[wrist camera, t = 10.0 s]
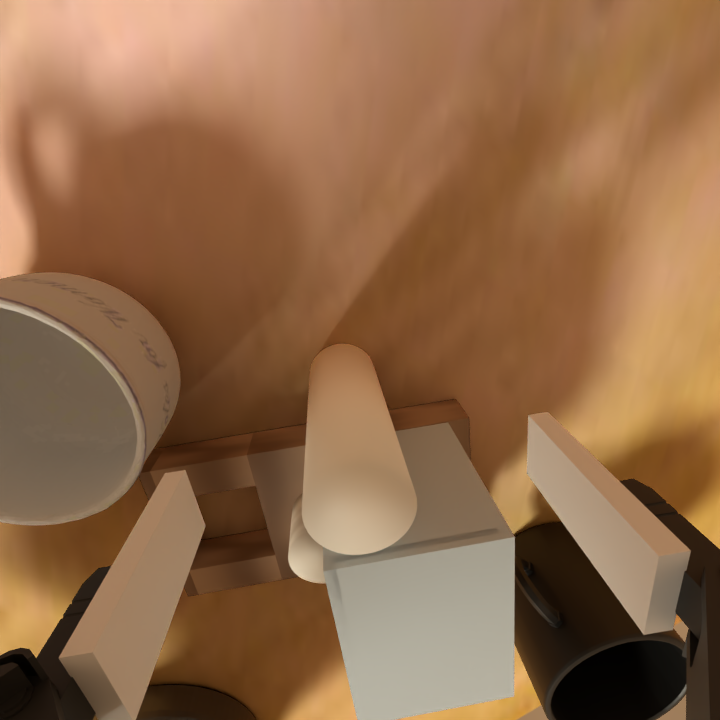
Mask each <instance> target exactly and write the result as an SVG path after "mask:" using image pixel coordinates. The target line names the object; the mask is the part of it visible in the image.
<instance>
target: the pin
mask: <svg viewBox="0 0 720 720" xmlns="http://www.w3.org/2000/svg"><path fill="white" fill-rule="evenodd" d="M416 512H417V497H416V493H415V490H414V487H413V484H412V481H411V478H410V475H409V472H408V469H407V466H406V463H405V460H404V457H403V454H402V451H401V448H400V444H399V441H398V438H397V435H396V432H395V429H394V426H393V423H392V420H391V417H390V414H389V411H388V408H387V405H386V402H385V399H384V396H383V393H382V390H381V387H380V384H379V381H378V378H377V374H376V371H375V368H374V365H373V363H372V360H371V358H370V357H369V356H368V354H367V353H366V352H365V351H363V350H362V349H360V348H359V347H357V346H354V345H351V344H335V345H331V346H329V347H327V348H325V349H323V350H322V351H321V352H319V353H318V354H317V356H316V357H315V358H314V360H313V362H312V364H311V367H310V375H309V392H308V410H307V427H306V444H305V462H304V479H303V497H302V519H303V523H304V526H305V528H306V530H307V532H308V533H309V535H310V536H311V537H312V538H313V539H314V540H315V541H316V542H317V543H318V544H320V545H321V546H323V547H325V548H326V549H329V550H331V551H334V552H337V553H341V554H348V555H362V554H369V553H373V552H377V551H380V550H382V549H384V548H387V547H389V546H390V545H392V544H394V543H395V542H396V541H398V540H399V539H400V538H401V537H402V536H403V535H405V533H406V532H407V531H408V530H409V528H410V527H411V525H412V523H413V521H414V519H415V516H416Z"/></svg>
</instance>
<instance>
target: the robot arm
mask: <svg viewBox="0 0 720 720" xmlns="http://www.w3.org/2000/svg"><path fill="white" fill-rule="evenodd" d="M527 474H528V476H529V477H530V479H531V480H532V481H533V483H534V484H535V485H536V487H537V488H538V490H539V491H540V492H541V494H542V495H543V496H544V498H545V499H546V501H547V502H548V503H549V505H550V506H551V508H552V509H553V510H554V512H555V513H556V514H557V516H558V517H559V519H560V520H561V521H562V523H563V524H564V525H565V527H566V528H567V530H568V531H569V532H570V534H571V535H572V536H573V538H574V539H575V541H576V542H577V543H578V545H579V546H580V547H581V549H582V550H583V552H584V553H585V554H586V556H587V557H588V559H589V560H590V561H591V563H592V564H593V565H594V567H595V568H596V570H597V571H598V572H599V574H600V575H601V576H602V578H603V579H604V581H605V582H606V583H607V585H608V586H609V587H610V589H611V590H612V592H613V593H614V594H615V596H616V597H617V599H618V600H619V601H620V603H621V604H622V605H623V607H624V608H625V610H626V611H627V612H628V614H629V615H630V616H631V618H632V619H633V621H634V622H635V623H636V625H637V626H638V627H639V629H640V630H641V632H642V633H643V634H644V635H646V634H652V633H657V632H663V631H669V630H673V626H674V622H675V618H676V614H677V615H678V616H679V617H680V618H681V620H682V621H683V622H684V623H685V624H686V625H687V627H688V628H689V630H688V633H687V637H686V642H685V645H684V649H683V653H682V656H683V657H685V658H687V678H686V720H720V549H719V548H717V547H716V546H715V545H714V544H713V543H712V542H711V541H710V540H709V539H707V538H706V537H705V536H704V535H703V534H702V533H701V532H700V531H699V530H697V529H696V528H695V527H694V526H693V525H692V524H691V523H690V522H688V521H687V520H686V519H685V518H684V517H683V516H682V515H681V514H678V513H677V511H676V510H675V509H674V508H673V507H672V506H671V505H670V504H667V503H666V501H665V500H664V499H663V498H662V497H661V496H660V495H658V494H657V493H656V492H655V491H654V490H653V489H652V488H650V487H648V486H646V485H644V484H642V483H640V482H638V481H637V480H635V479H629V480H623V481H619V480H618V479H617V478H615V477H614V476H613V475H612V474H611V473H610V472H609V471H608V470H607V469H606V468H605V467H604V466H603V465H602V464H601V463H600V462H599V461H598V460H597V459H596V458H595V457H594V456H593V455H592V454H591V453H590V452H589V451H588V450H587V449H586V448H585V447H584V446H583V445H582V444H581V443H579V442H578V441H577V440H576V439H575V438H574V437H573V436H572V435H571V434H570V433H569V432H568V431H567V430H566V429H565V428H564V427H563V426H562V425H561V424H560V423H559V422H558V421H557V420H556V419H555V418H554V417H553V416H552V415H551V414H550V413H549V412H543V413H537V414H531V415H528V445H527ZM205 527H206V525H205V523H204V520H203V517H202V514H201V512H200V509H199V506H198V503H197V501H196V498H195V495H194V492H193V490H192V487H191V484H190V481H189V479H188V476H187V473H186V470H182V471H176V472H169V473H165V474H164V476H163V477H162V479H161V481H160V483H159V484H158V486H157V488H156V490H155V491H154V493H153V495H152V497H151V498H150V500H149V502H148V504H147V505H146V507H145V509H144V510H143V512H142V514H141V516H140V517H139V519H138V521H137V523H136V524H135V526H134V528H133V530H132V531H131V533H130V535H129V536H128V538H127V540H126V542H125V543H124V545H123V547H122V549H121V550H120V552H119V554H118V556H117V557H116V559H115V561H114V563H113V564H112V566H108V567H102V568H98V569H97V570H96V571H95V572H94V573H93V574H92V575H91V576H90V577H89V578H88V579H87V580H86V581H85V582H84V583H83V584H82V586H81V588H80V589H79V591H78V592H77V594H76V596H75V597H74V599H73V600H72V604H70V605H69V607H68V608H67V610H66V612H65V613H64V615H63V618H62V619H61V620H60V621H59V623H58V624H57V626H56V628H55V629H54V631H53V632H52V634H51V636H50V637H49V639H48V640H47V642H46V644H45V645H44V647H43V649H42V650H41V652H40V653H39V655H38V657H37V658H35V656H34V655H33V653H32V652H31V651H30V649H25V648H19V649H15V650H11V651H8V652H6V653H4V654H2V655H1V656H0V720H256V719H255V717H254V716H253V715H252V713H251V712H250V711H249V710H248V709H247V708H246V707H245V706H243V705H242V704H241V703H239V702H238V701H236V700H234V699H233V698H231V697H229V696H227V695H224V694H222V693H219V692H216V691H213V690H209V689H205V688H201V687H195V686H186V685H159V686H150V687H148V685H149V682H150V679H151V676H152V674H153V671H154V668H155V665H156V662H157V660H158V657H159V654H160V651H161V649H162V646H163V643H164V640H165V638H166V635H167V632H168V629H169V626H170V624H171V621H172V618H173V615H174V613H175V610H176V607H177V604H178V601H179V599H180V596H181V593H182V590H183V588H184V585H185V582H186V579H187V577H188V574H189V571H190V568H191V565H192V563H193V560H194V557H195V554H196V552H197V549H198V546H199V543H200V541H201V538H202V535H203V532H204V529H205Z"/></svg>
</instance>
